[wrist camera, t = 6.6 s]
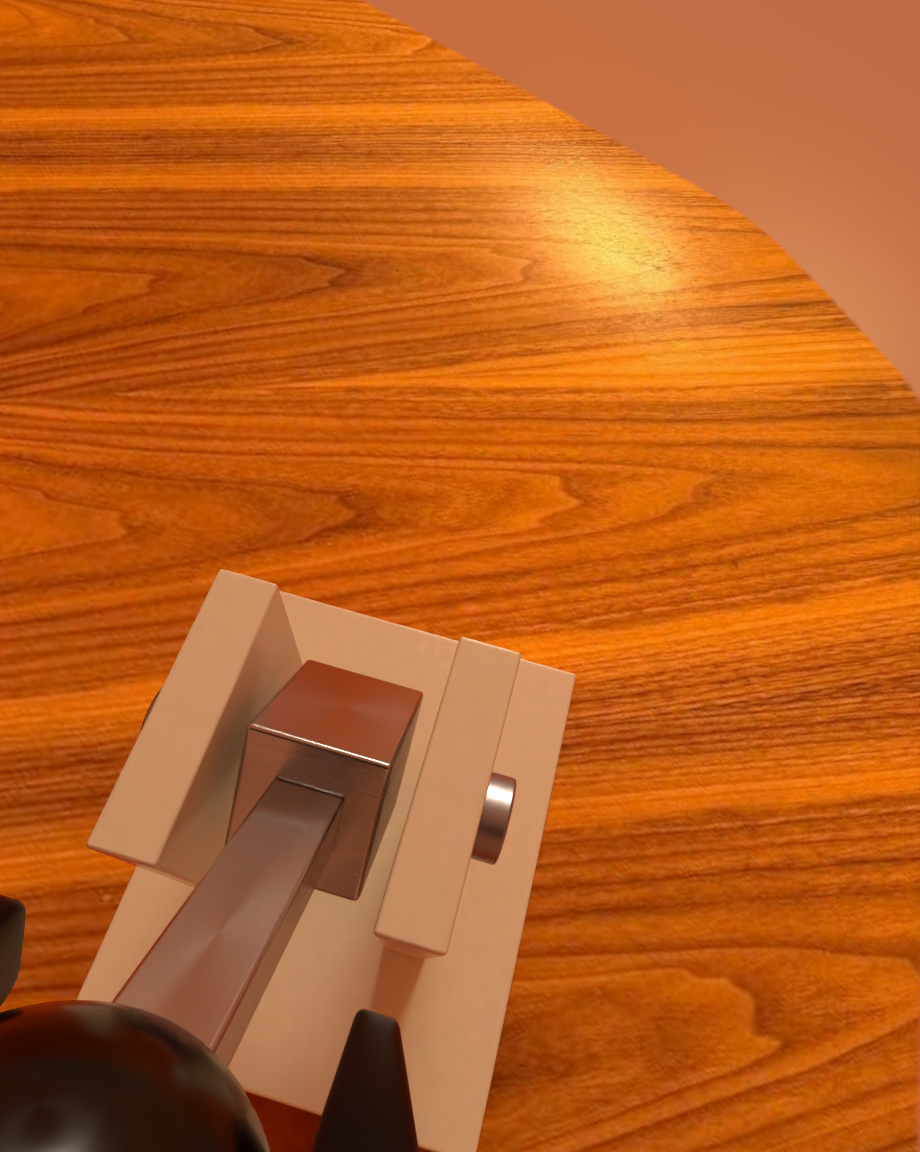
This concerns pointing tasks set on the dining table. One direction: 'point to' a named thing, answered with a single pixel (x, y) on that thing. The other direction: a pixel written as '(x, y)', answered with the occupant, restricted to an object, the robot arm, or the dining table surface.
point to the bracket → (401, 866)
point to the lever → (218, 938)
